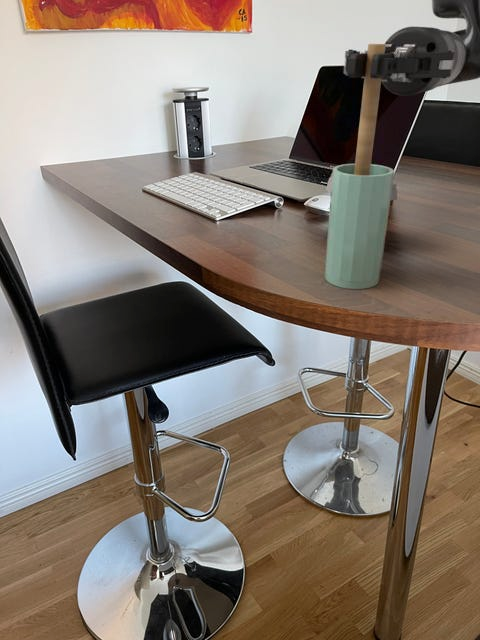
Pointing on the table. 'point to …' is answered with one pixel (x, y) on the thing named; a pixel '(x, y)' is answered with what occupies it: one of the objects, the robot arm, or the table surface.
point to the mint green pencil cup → (357, 226)
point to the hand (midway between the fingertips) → (363, 66)
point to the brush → (368, 114)
